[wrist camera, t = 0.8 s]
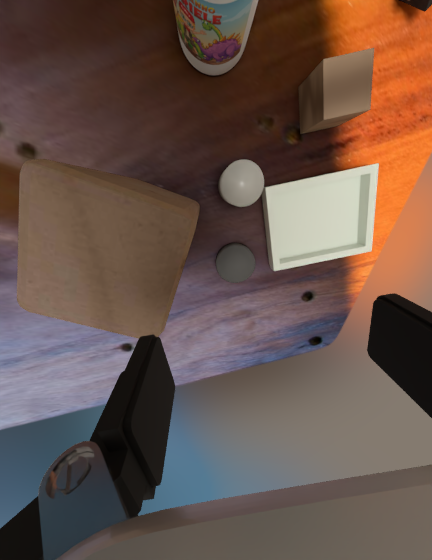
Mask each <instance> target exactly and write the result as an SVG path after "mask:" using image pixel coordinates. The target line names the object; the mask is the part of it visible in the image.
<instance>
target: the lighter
mask: <svg viewBox="0 0 432 560" xmlns="http://www.w3.org/2000/svg"><path fill="white" fill-rule="evenodd" d="M400 1H402V2H404V3H407V4H409V5H411V6H413V7H416V8H418V9H420V10H422V11H426V10H427V9H428V8H429V7H430V6H431V5H432V0H400Z"/></svg>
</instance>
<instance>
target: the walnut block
mask: <svg viewBox="0 0 432 560" xmlns="http://www.w3.org/2000/svg"><path fill="white" fill-rule="evenodd" d="M373 58H374V48H371V49H367V50H363V51H358V52H354V53H349V54H345V55H341V56H336V57H332V58H328V59H323V60H322V62H321V63H320V64H319V65H318V66H317V67H316V68H315V69H314V71H313V72H312V73H311V74H310V75H309V76H308V77H307V78H306V79H305V81H304V82H303V83H302V84H301V85H300V86H299V87H298V89H299V113H300V134H304V133H308V132H313V131H317V130H322V129H326V128H331V127H335V126H339V125H341V124H343V123H345V122H347V121H349V120H351V119H353V118H355V117H357V116H359V115H361V114H362V113H364V112H366V111H368V110H370V106H371V90H372V74H373Z"/></svg>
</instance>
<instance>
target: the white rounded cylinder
mask: <svg viewBox="0 0 432 560" xmlns="http://www.w3.org/2000/svg"><path fill="white" fill-rule="evenodd" d="M263 187H264V177H263V173H262V171H261V169H260V168H259V167H258V165H257V164H255V163H254V162H252V161H250V160H238V161H235V162H233V163H232V164H230V165H229V166H228V167H227V168H226V169H225V171H224V172H223V173H222V174H221V176H220V178H219V181H218V190H219V193H220V196H221V197H222V198H223V200H225V201H226V202H227V203H230V204H232V205H235V206H238V207H245V206H249V205H251V204H253V203H254V202H255V201H256V200H257V199H258V198H259V197H260V195H261V193H262V191H263Z"/></svg>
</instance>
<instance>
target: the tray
mask: <svg viewBox="0 0 432 560" xmlns="http://www.w3.org/2000/svg"><path fill="white" fill-rule="evenodd" d="M378 167H379V163H377V164H371V165H365V166H361V167H356V168H351V169H347V170H342V171H338V172H333V173H328V174H324V175H319V176H314V177H310V178H305V179H300V180H296V181H291V182H287V183H282V184H277V185H273V186H268V187H263V191H262V193H261V194H262V204H263V213H264V222H265V231H266V240H267V249H268V258H269V266H270V267H271V268H272V270H273V271H277V270H282V269H287V268H292V267H297V266H302V265H307V264H312V263H316V262H321V261H326V260H331V259H336V258H341V257H346V256H351V255H355V254H360V253H365V252H370V251H372V240H373V228H374V216H375V204H376V192H377V179H378Z"/></svg>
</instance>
